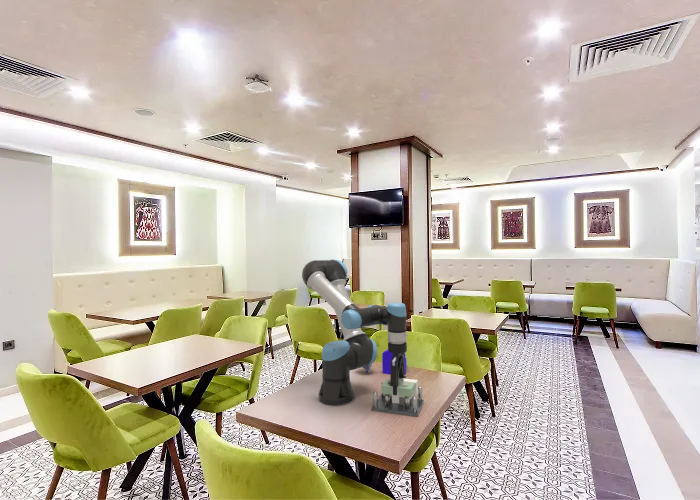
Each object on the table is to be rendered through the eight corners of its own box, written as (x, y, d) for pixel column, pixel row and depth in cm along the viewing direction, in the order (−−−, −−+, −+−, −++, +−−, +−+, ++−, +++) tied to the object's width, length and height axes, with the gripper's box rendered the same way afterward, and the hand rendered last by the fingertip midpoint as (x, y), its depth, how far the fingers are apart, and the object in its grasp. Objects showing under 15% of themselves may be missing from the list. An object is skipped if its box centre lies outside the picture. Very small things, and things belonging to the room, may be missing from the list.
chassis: (371, 410, 146) (371, 393, 146) (381, 397, 159) (381, 381, 159) (417, 416, 139) (417, 399, 139) (423, 402, 152) (423, 386, 153)
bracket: (402, 376, 185) (402, 353, 186) (382, 373, 190) (382, 350, 191) (413, 366, 202) (413, 344, 202) (394, 364, 206) (394, 343, 207)
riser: (398, 394, 161) (397, 380, 161) (400, 391, 165) (399, 378, 165) (416, 397, 159) (416, 382, 159) (418, 393, 162) (417, 379, 162)
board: (381, 393, 148) (381, 383, 148) (386, 386, 155) (386, 377, 155) (411, 397, 143) (411, 387, 143) (415, 389, 151) (414, 380, 151)
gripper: (400, 348, 138) (401, 410, 138) (411, 336, 158) (412, 390, 158) (381, 347, 141) (382, 407, 141) (394, 335, 160) (395, 388, 160)
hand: (398, 398), depth 149 cm, fingers closed on board, 8 cm apart
